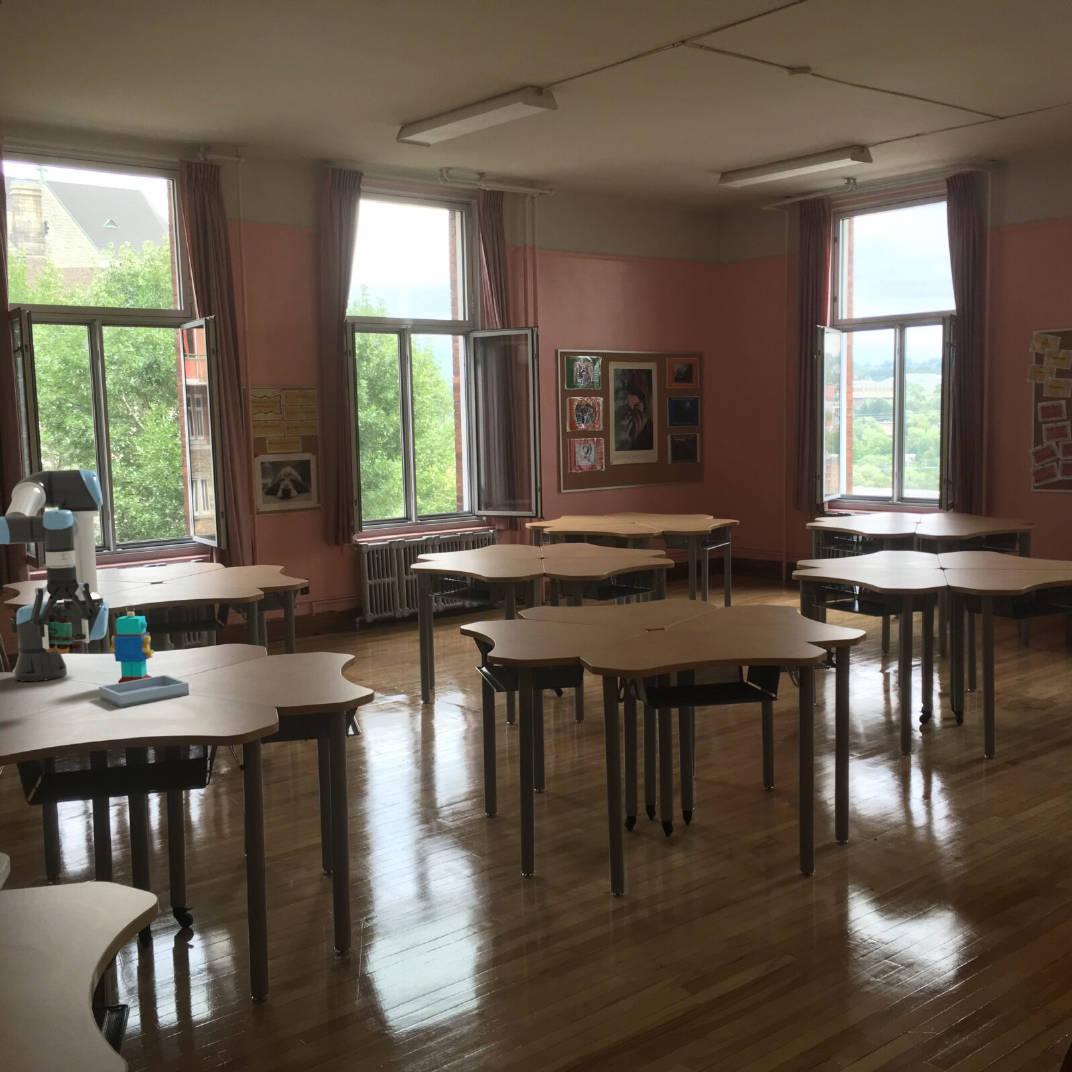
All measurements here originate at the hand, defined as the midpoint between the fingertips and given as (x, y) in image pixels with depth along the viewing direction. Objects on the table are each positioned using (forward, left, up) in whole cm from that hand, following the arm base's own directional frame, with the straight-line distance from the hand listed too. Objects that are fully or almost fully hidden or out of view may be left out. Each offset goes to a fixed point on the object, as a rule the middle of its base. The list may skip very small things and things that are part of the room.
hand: (66, 645), depth 301 cm
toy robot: (-12, +24, -18) cm, 32 cm away
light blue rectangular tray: (+4, +20, -18) cm, 27 cm away
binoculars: (0, 0, -2) cm, 2 cm away
